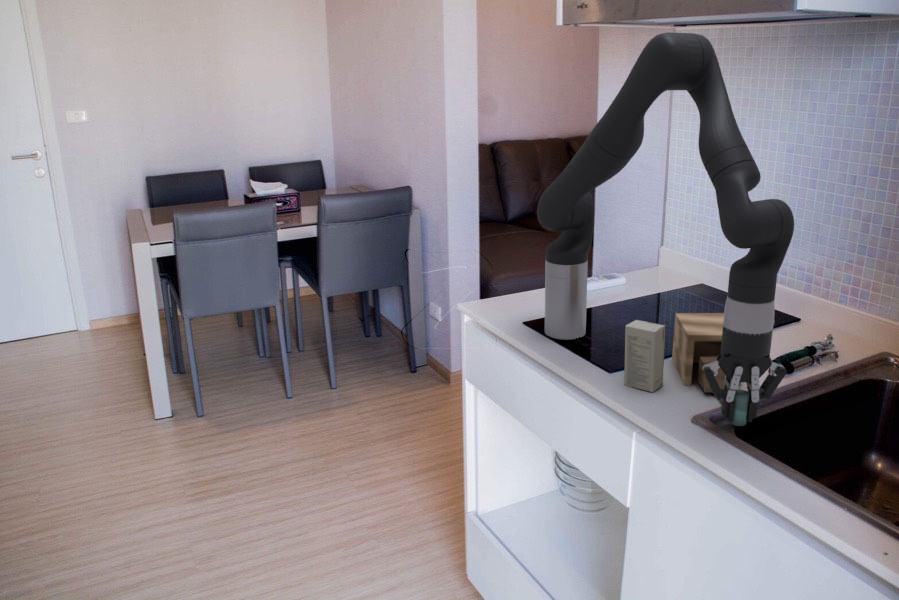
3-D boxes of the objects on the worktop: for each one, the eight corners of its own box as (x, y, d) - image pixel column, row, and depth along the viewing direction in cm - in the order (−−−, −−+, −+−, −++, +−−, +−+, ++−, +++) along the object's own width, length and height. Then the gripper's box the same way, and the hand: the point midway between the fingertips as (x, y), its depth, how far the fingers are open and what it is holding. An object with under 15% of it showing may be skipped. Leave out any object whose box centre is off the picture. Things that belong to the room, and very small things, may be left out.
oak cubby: (671, 359, 153) (675, 313, 150) (724, 360, 152) (728, 313, 149) (684, 385, 142) (688, 335, 138) (740, 385, 141) (746, 335, 138)
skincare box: (663, 385, 142) (667, 325, 138) (652, 393, 139) (656, 332, 135) (633, 376, 146) (636, 318, 142) (621, 384, 143) (624, 324, 139)
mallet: (697, 380, 142) (700, 354, 140) (724, 380, 141) (727, 353, 140) (725, 425, 125) (727, 396, 123) (755, 425, 125) (759, 396, 123)
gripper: (784, 315, 123) (773, 409, 129) (698, 315, 124) (690, 409, 130) (801, 332, 116) (788, 431, 122) (709, 332, 117) (701, 430, 123)
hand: (738, 419), depth 126 cm, fingers closed on mallet, 2 cm apart
